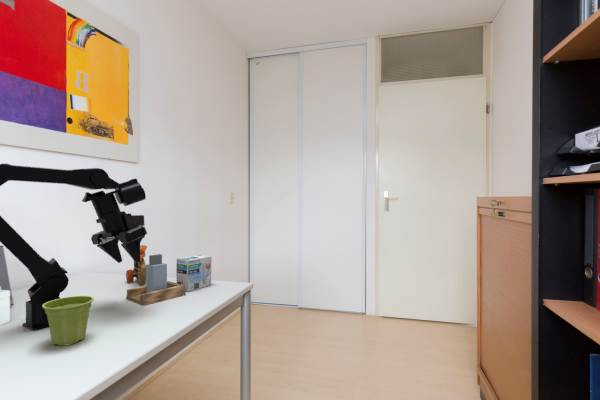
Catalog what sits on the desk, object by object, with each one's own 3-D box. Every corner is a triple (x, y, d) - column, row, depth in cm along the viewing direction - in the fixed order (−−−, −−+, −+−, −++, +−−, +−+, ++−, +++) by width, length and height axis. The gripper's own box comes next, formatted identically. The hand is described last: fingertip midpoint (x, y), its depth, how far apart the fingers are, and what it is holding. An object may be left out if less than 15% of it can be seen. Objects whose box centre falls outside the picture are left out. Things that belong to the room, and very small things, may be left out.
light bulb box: (188, 292, 113) (188, 260, 113) (175, 289, 117) (175, 258, 117) (212, 285, 122) (212, 255, 122) (199, 282, 126) (199, 254, 126)
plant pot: (44, 337, 76) (44, 299, 76) (93, 329, 81) (93, 293, 81) (40, 353, 68) (40, 311, 68) (94, 342, 73) (94, 303, 73)
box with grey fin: (153, 296, 105) (153, 256, 105) (146, 294, 107) (146, 255, 107) (166, 293, 108) (166, 254, 108) (159, 291, 111) (159, 253, 111)
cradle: (143, 305, 99) (143, 295, 99) (126, 298, 106) (126, 289, 106) (185, 294, 110) (185, 285, 110) (167, 289, 117) (167, 280, 117)
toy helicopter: (148, 277, 134) (147, 243, 134) (162, 289, 118) (162, 249, 117) (125, 281, 129) (125, 245, 129) (137, 292, 113) (137, 252, 112)
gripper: (152, 199, 96) (171, 249, 99) (116, 205, 106) (135, 250, 109) (116, 213, 87) (138, 267, 90) (81, 218, 97) (102, 267, 100)
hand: (129, 262), depth 98 cm, fingers open, 9 cm apart
